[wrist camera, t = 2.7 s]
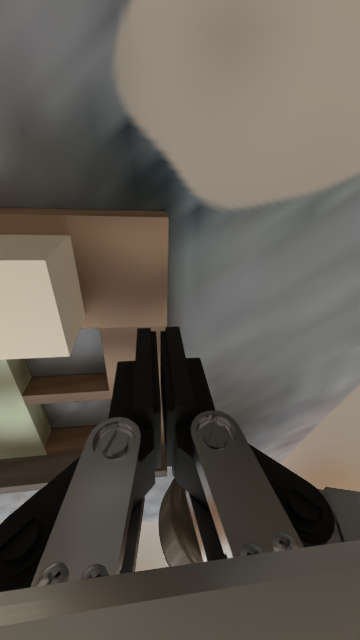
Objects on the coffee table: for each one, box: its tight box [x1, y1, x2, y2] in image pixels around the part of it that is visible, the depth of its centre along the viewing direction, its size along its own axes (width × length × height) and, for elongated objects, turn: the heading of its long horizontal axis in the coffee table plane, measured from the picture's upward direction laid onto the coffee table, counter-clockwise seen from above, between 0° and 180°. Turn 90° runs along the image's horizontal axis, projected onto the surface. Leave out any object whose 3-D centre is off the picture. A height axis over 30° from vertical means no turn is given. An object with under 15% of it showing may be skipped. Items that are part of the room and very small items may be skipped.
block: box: [0, 235, 85, 360], centre depth 13 cm, size 5×5×4 cm
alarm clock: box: [159, 477, 203, 567], centre depth 23 cm, size 11×5×16 cm, turn 70°
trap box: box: [0, 207, 169, 494], centre depth 18 cm, size 22×22×4 cm
